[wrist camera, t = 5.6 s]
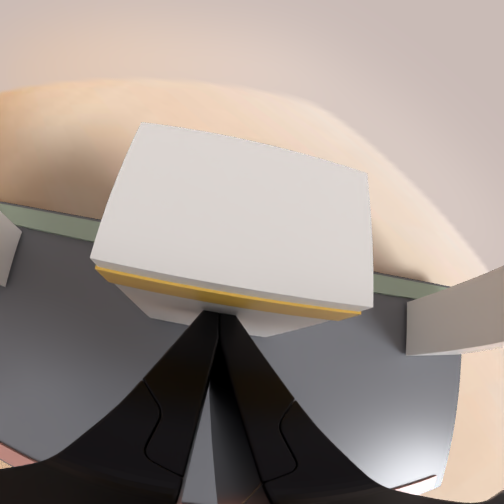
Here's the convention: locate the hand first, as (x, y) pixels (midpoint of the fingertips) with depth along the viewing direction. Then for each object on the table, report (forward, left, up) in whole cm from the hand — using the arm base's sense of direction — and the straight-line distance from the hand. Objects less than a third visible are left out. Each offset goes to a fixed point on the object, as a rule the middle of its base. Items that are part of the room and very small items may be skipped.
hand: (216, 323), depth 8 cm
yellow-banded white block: (+1, +2, -4) cm, 5 cm away
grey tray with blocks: (-1, -3, -7) cm, 7 cm away
